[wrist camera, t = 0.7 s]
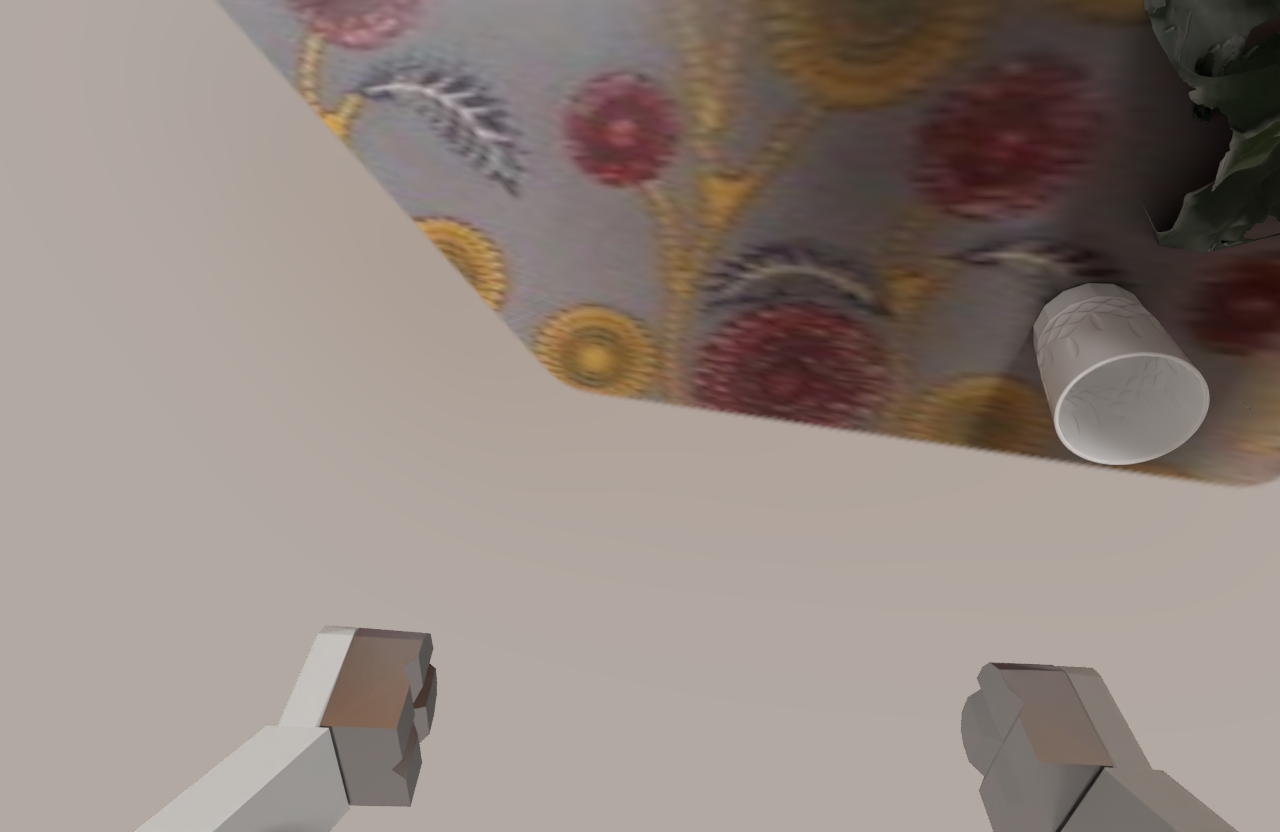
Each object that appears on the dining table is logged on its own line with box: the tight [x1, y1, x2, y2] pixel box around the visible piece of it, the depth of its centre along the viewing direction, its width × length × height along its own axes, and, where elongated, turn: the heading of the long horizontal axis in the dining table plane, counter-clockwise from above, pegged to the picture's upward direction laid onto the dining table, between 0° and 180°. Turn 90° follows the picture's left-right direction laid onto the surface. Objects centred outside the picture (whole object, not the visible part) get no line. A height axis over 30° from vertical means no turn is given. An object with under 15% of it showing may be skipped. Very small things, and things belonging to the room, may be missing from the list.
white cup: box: [1033, 283, 1210, 465], centre depth 50 cm, size 8×8×10 cm
